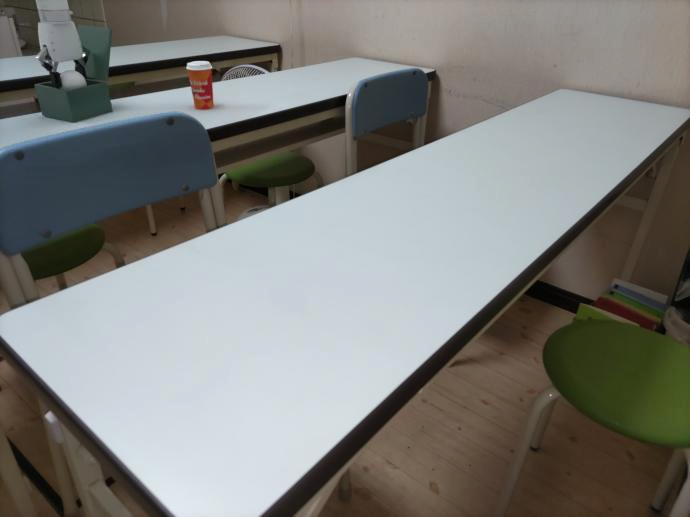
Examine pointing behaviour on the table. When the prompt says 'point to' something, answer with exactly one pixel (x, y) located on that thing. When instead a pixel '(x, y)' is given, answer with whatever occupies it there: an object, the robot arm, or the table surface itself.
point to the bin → (74, 101)
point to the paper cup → (201, 84)
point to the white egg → (72, 80)
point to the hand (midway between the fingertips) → (70, 83)
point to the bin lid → (96, 50)
